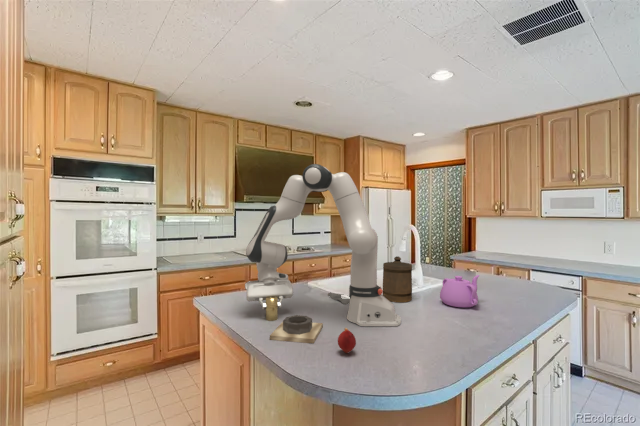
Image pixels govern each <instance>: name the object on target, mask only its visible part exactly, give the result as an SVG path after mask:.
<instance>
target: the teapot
mask: <svg viewBox="0 0 640 426" xmlns="http://www.w3.org/2000/svg"><path fill="white" fill-rule="evenodd" d="M479 277H480V274H477V275H475V276H474V277H473V278H472V280H471V281H470V280H469V279H464V278H463V276H462V275H454V278H447V277H446V278H444V279H443V280H442V287H441V289H440V292H439V298H440V300H441V301H442V303H443V304H445V305H447V306H450V307H454V308H472V307H475V306H476V305H477V304H478V302H479V297H478V293H477V292H478V278H479Z"/></svg>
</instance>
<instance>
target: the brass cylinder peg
mask: <svg viewBox="0 0 640 426" xmlns="http://www.w3.org/2000/svg"><path fill="white" fill-rule="evenodd" d="M278 302H279V299H278V297H276V296H272V297H266V300H265V304H266V309H265V320H266V321H268V322H274V321H277V320H279V319H278V318H279V315H278V314H279V312H278V309H279V308H278Z"/></svg>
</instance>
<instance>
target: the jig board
mask: <svg viewBox="0 0 640 426" xmlns="http://www.w3.org/2000/svg"><path fill="white" fill-rule="evenodd" d="M323 328H324V322H313V319H312V318H311V317H309V316H307V315H303V314H302V315H300V314H299V315H298V314H296V315H295V314H294V315H290V316H286V317H285V318H284V319H283V320H282V322H281V323H280V324H279V325H278V326H277V327H276V328H275V329H274V330H273V332H271V333H270V335H269V341H270V340H271V341H280V342H282V341H283V342H291V343H292V342H294V343H303V344H315V342H316V340H317V339H318V337H319V335H320V334H321V332H322V329H323Z"/></svg>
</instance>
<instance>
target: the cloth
mask: <svg viewBox="0 0 640 426" xmlns="http://www.w3.org/2000/svg"><path fill="white" fill-rule="evenodd" d="M341 295H343V294H342V293H335V292H331V291H330V293H329V292H328V294H327V297H329V296H330V297H331V298H330V297H329V298H330V299H332V300H337V301H339V302H341V304H343V305H349V304H350V299H342V298H341ZM348 303H349V304H348Z"/></svg>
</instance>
